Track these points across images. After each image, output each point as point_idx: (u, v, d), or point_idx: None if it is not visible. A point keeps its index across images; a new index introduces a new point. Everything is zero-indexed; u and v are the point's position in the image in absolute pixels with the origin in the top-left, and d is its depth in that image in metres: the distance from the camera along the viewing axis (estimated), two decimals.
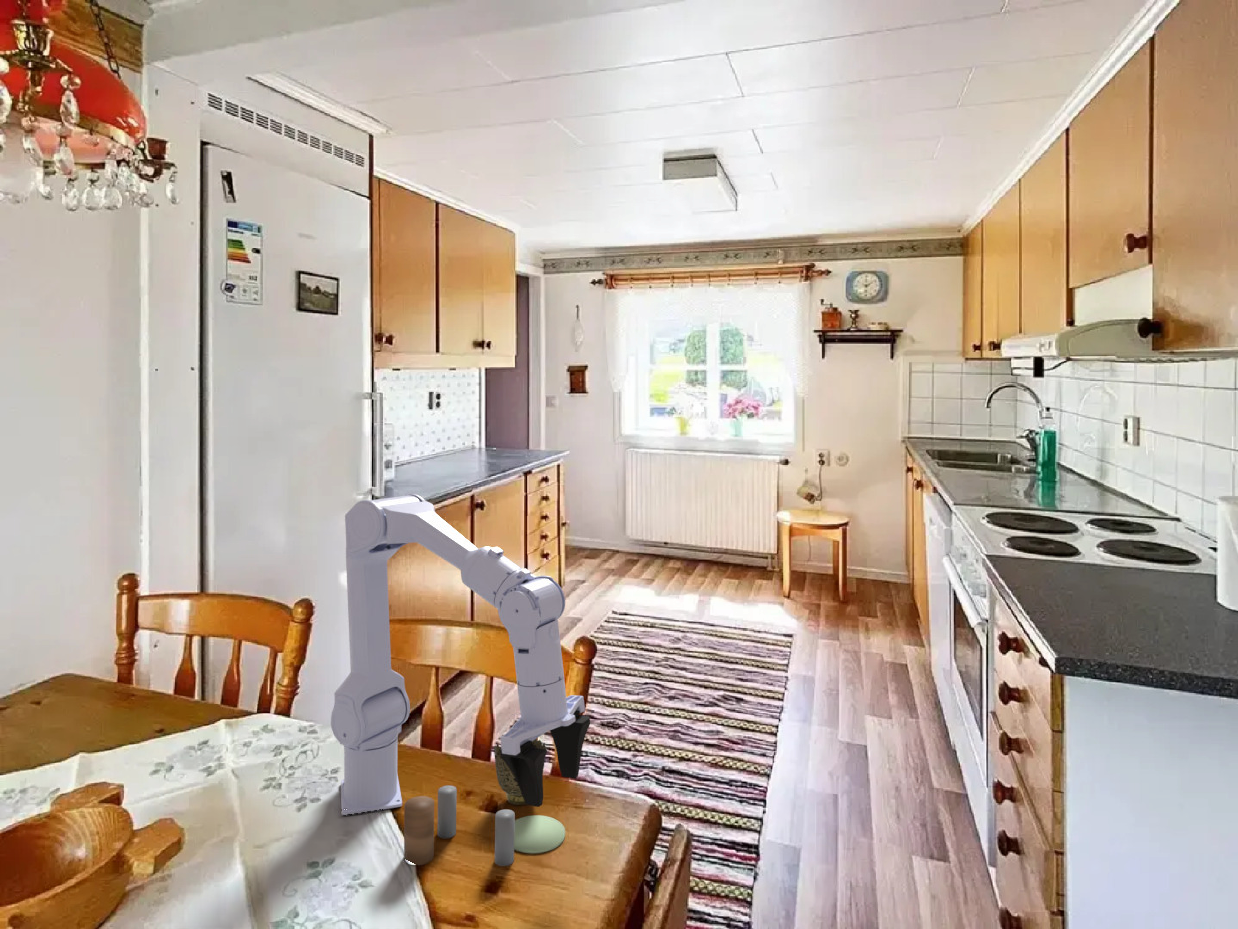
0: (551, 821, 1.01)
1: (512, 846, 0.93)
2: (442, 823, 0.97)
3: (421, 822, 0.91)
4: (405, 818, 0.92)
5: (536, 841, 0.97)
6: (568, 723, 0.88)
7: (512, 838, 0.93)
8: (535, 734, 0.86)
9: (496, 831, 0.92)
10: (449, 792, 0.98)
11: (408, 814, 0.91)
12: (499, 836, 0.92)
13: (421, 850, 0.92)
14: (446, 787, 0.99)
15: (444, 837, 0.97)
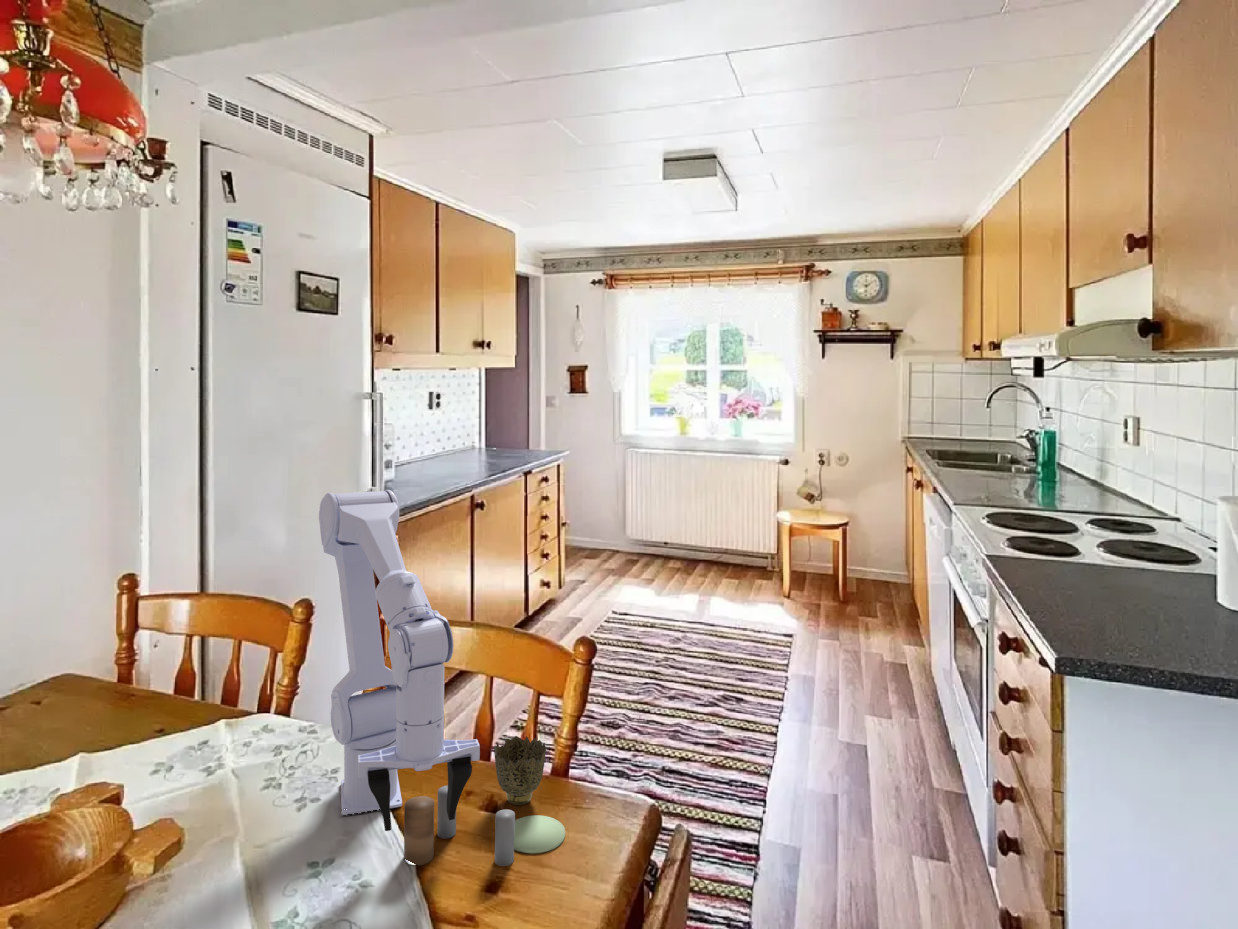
0: (551, 821, 1.01)
1: (512, 846, 0.93)
2: (442, 823, 0.97)
3: (421, 822, 0.91)
4: (405, 818, 0.92)
5: (536, 841, 0.97)
6: (417, 769, 0.88)
7: (512, 838, 0.93)
8: (385, 766, 0.89)
9: (496, 831, 0.92)
10: None
11: (408, 814, 0.91)
12: (500, 836, 0.92)
13: (421, 850, 0.92)
14: (446, 787, 0.99)
15: (444, 837, 0.97)
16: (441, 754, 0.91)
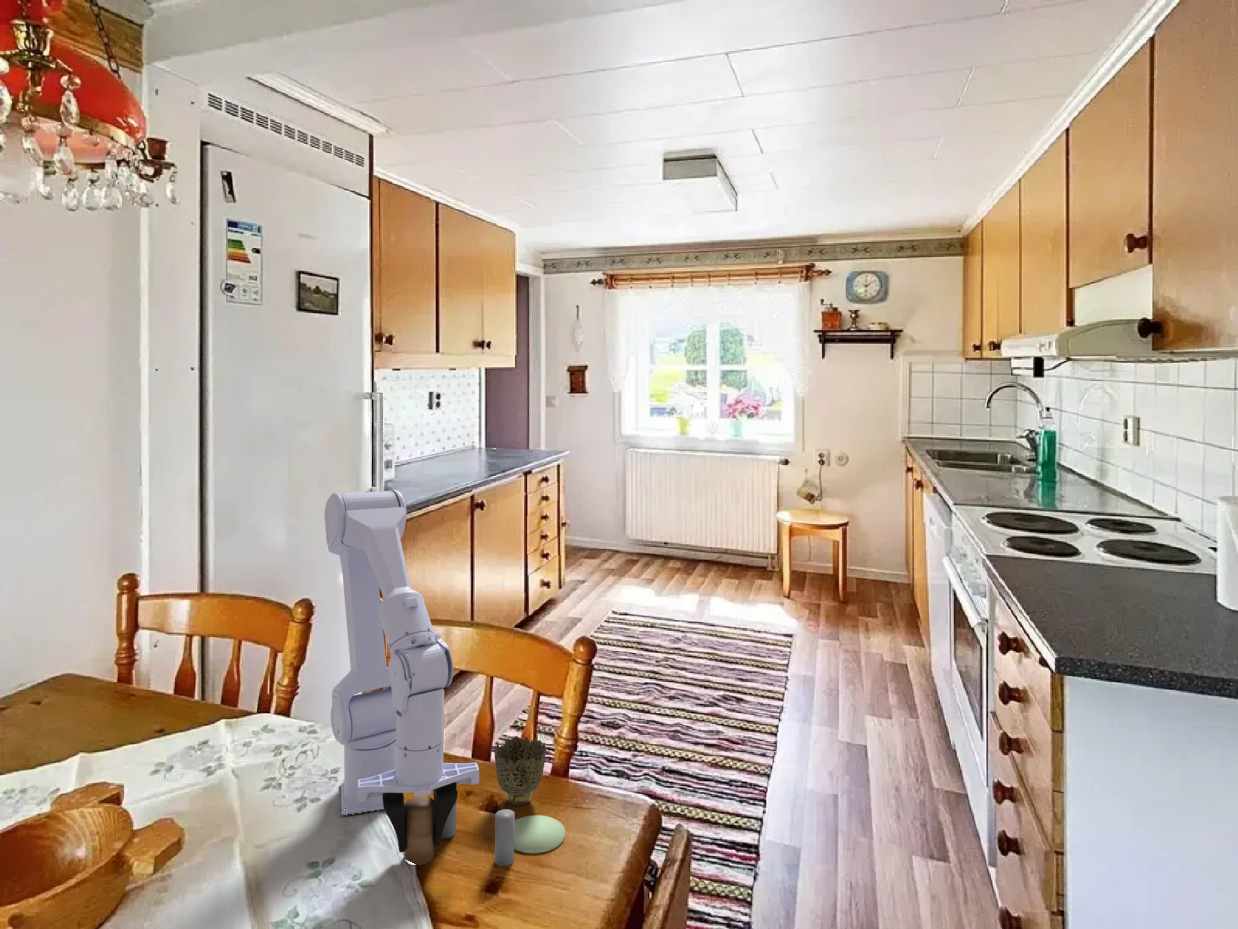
0: (551, 821, 1.01)
1: (512, 846, 0.93)
2: None
3: (421, 822, 0.91)
4: (405, 818, 0.92)
5: (536, 841, 0.97)
6: (417, 794, 0.89)
7: (512, 838, 0.93)
8: (385, 791, 0.90)
9: (496, 831, 0.92)
10: None
11: (408, 814, 0.91)
12: (499, 836, 0.92)
13: (421, 850, 0.92)
14: None
15: (444, 837, 0.97)
16: (441, 779, 0.92)
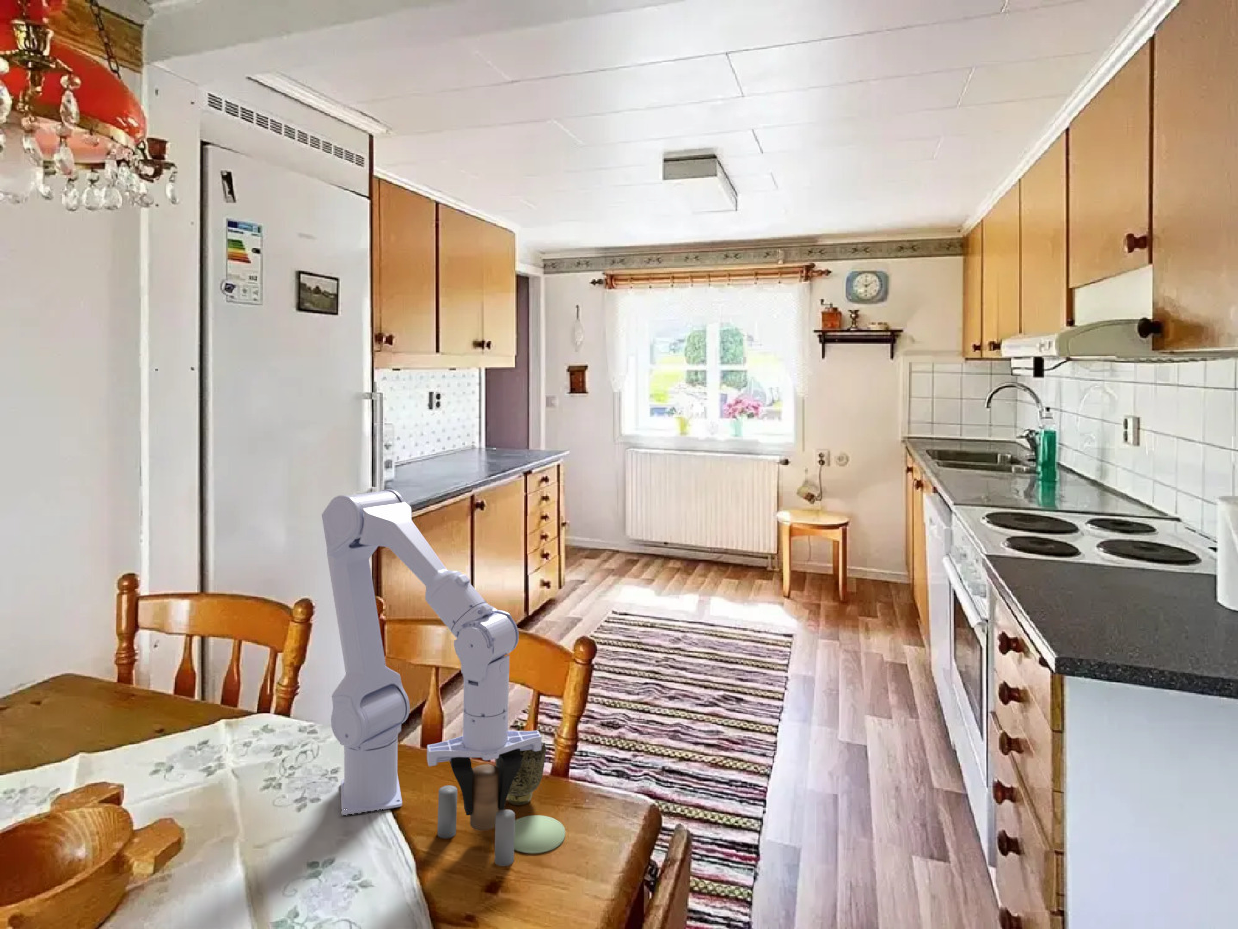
0: (551, 821, 1.01)
1: (512, 846, 0.93)
2: (443, 823, 0.97)
3: (488, 788, 0.95)
4: (472, 785, 0.95)
5: (536, 841, 0.97)
6: (485, 758, 0.92)
7: (512, 838, 0.93)
8: (454, 755, 0.93)
9: (496, 831, 0.92)
10: (450, 792, 0.98)
11: (475, 780, 0.95)
12: (500, 836, 0.92)
13: (488, 816, 0.95)
14: (447, 787, 0.99)
15: (444, 837, 0.97)
16: (506, 744, 0.95)
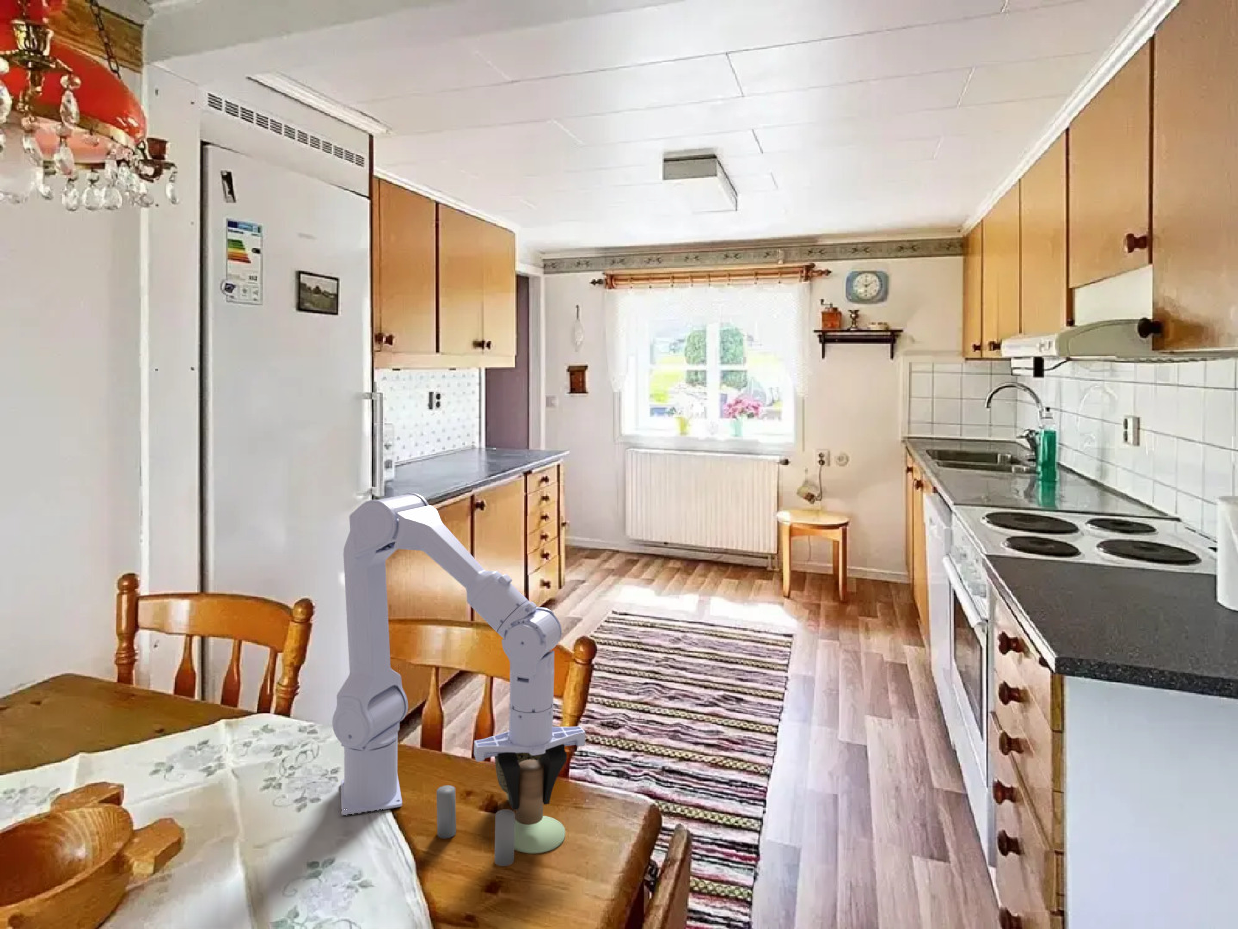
0: (551, 821, 1.01)
1: (512, 846, 0.93)
2: (442, 823, 0.97)
3: (534, 783, 0.96)
4: None
5: (536, 841, 0.97)
6: (532, 753, 0.94)
7: (512, 838, 0.93)
8: (501, 751, 0.95)
9: (496, 831, 0.92)
10: (448, 792, 0.98)
11: (521, 775, 0.96)
12: (499, 835, 0.92)
13: (533, 810, 0.97)
14: (444, 787, 0.99)
15: (444, 837, 0.97)
16: (552, 740, 0.97)
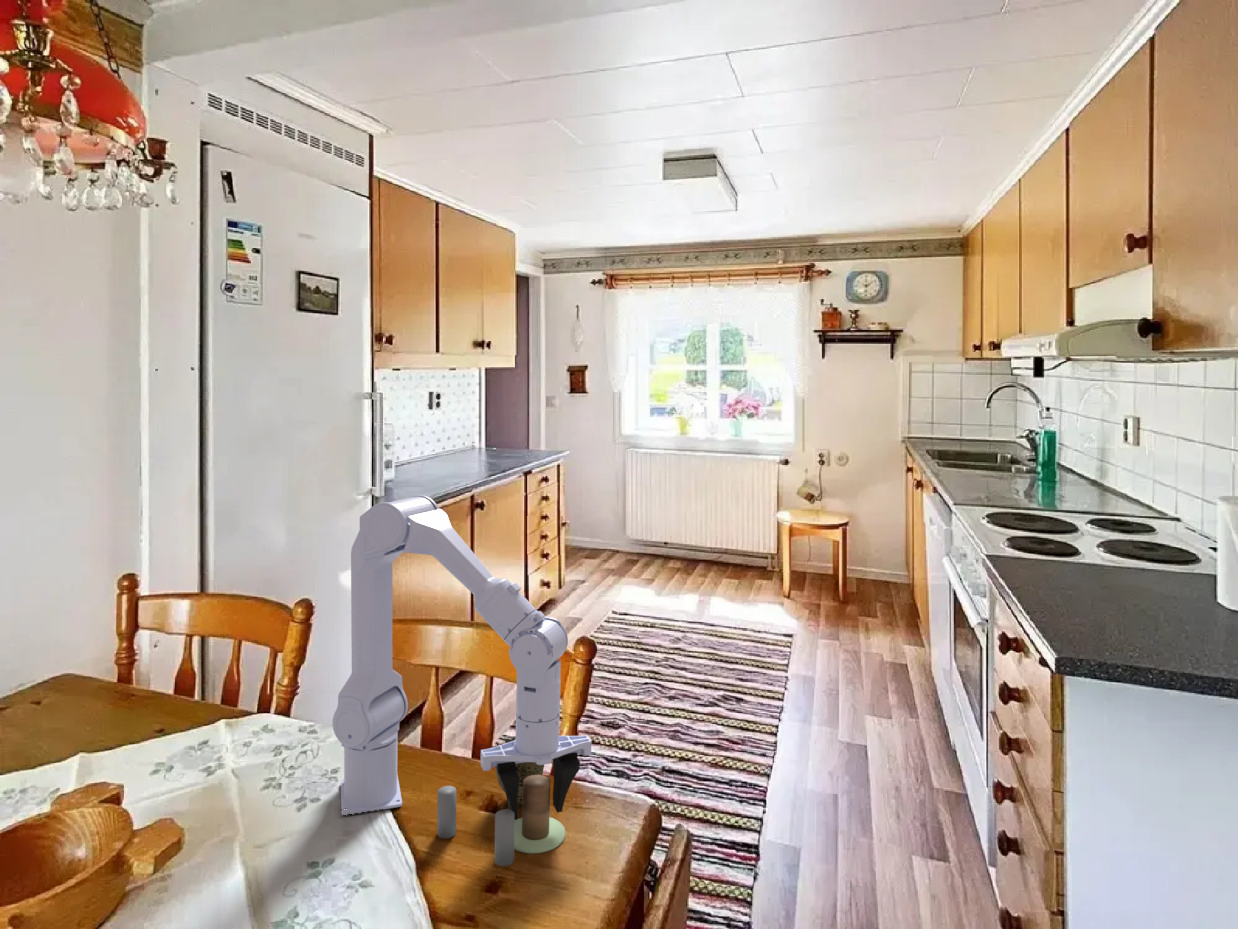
0: (551, 821, 1.01)
1: (512, 846, 0.93)
2: (443, 824, 0.97)
3: (540, 798, 0.97)
4: (524, 795, 0.97)
5: (536, 841, 0.97)
6: (539, 763, 0.94)
7: (512, 838, 0.93)
8: (508, 760, 0.95)
9: (496, 831, 0.92)
10: (449, 792, 0.97)
11: (528, 790, 0.97)
12: (499, 836, 0.92)
13: (540, 825, 0.97)
14: (445, 788, 0.99)
15: (445, 837, 0.97)
16: (558, 749, 0.97)
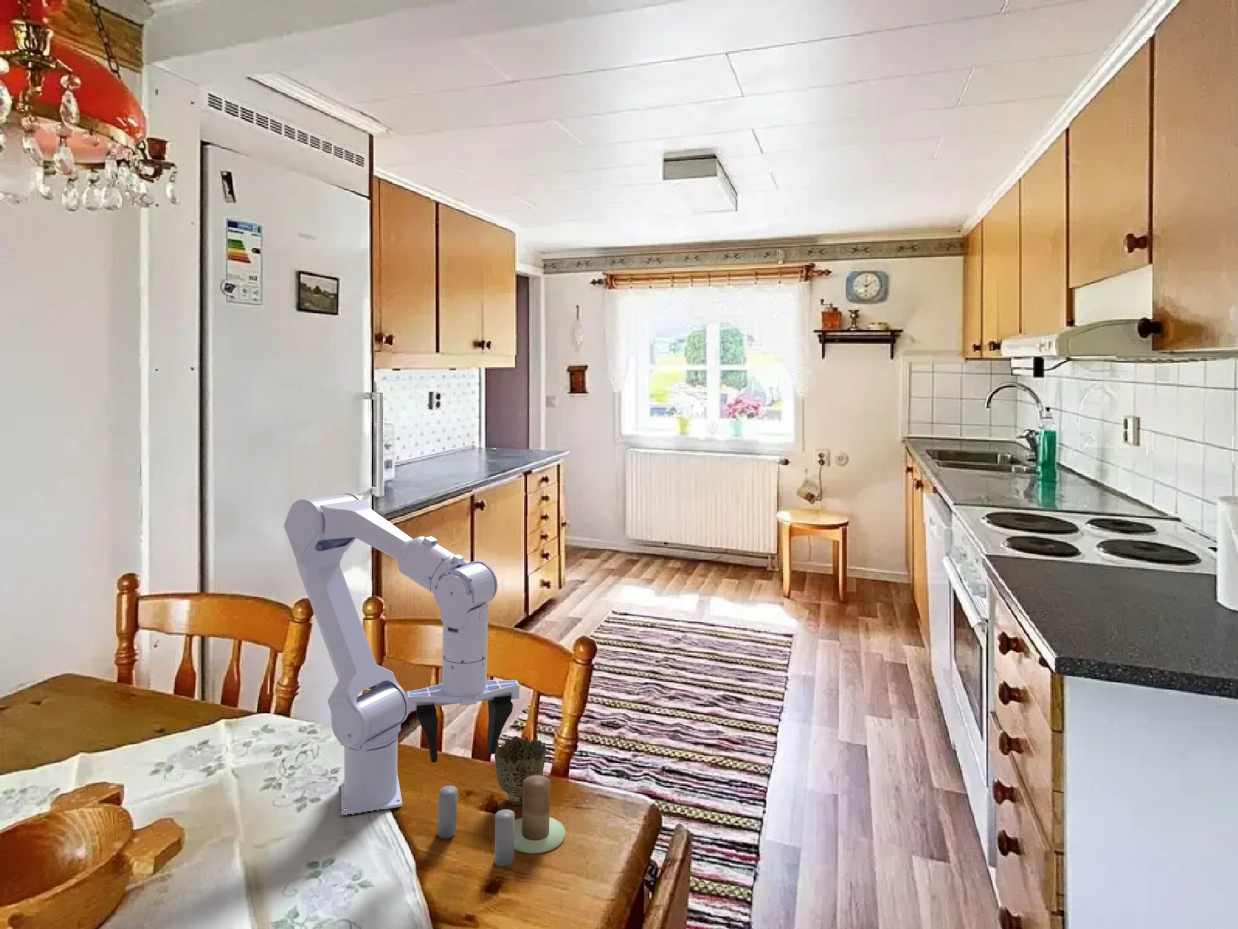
0: (551, 821, 1.01)
1: (512, 846, 0.93)
2: (444, 824, 0.97)
3: (540, 799, 0.97)
4: (524, 795, 0.97)
5: (536, 841, 0.97)
6: (463, 703, 0.94)
7: (512, 838, 0.93)
8: (433, 701, 0.95)
9: (496, 831, 0.92)
10: (451, 792, 0.98)
11: (528, 791, 0.97)
12: (499, 836, 0.92)
13: (540, 826, 0.97)
14: (446, 788, 0.99)
15: (446, 837, 0.97)
16: (484, 691, 0.97)
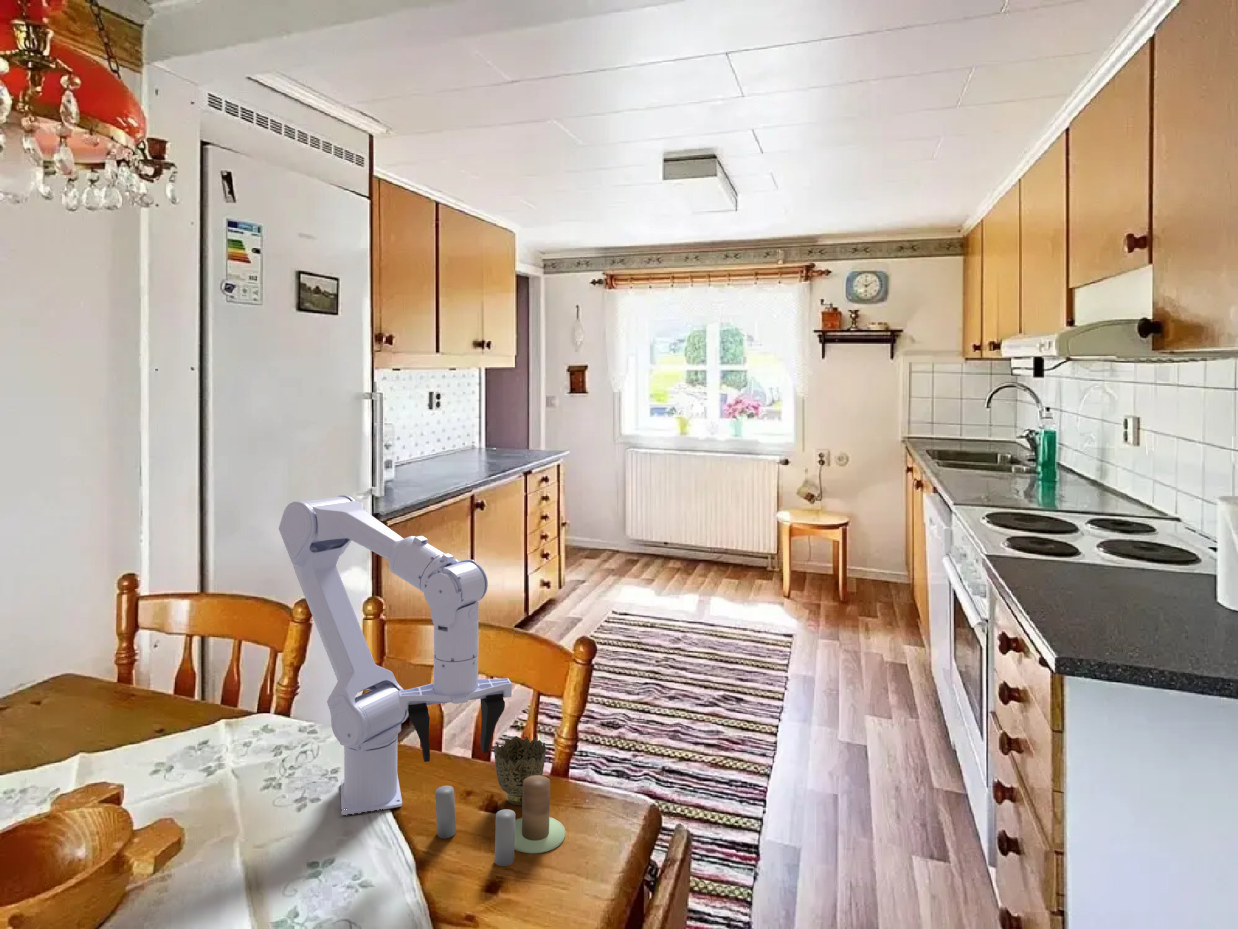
0: (551, 821, 1.01)
1: (512, 846, 0.93)
2: (444, 823, 0.97)
3: (540, 799, 0.97)
4: (524, 795, 0.97)
5: (536, 841, 0.97)
6: (455, 702, 0.94)
7: (512, 838, 0.93)
8: (424, 700, 0.95)
9: (496, 831, 0.92)
10: (447, 792, 0.98)
11: (527, 791, 0.97)
12: (500, 835, 0.92)
13: (540, 826, 0.97)
14: (442, 788, 0.98)
15: (446, 837, 0.98)
16: (476, 690, 0.97)
